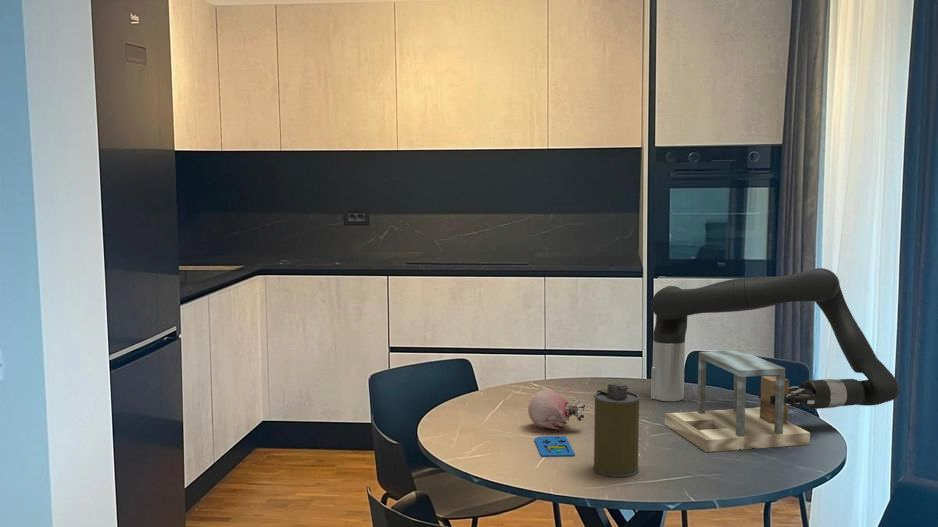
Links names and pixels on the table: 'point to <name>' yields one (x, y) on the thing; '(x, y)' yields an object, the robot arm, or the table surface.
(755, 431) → the tunnel deck
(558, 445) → the handheld gaming device
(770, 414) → the walnut block
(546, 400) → the toy
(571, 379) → the table surface
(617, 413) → the canister
